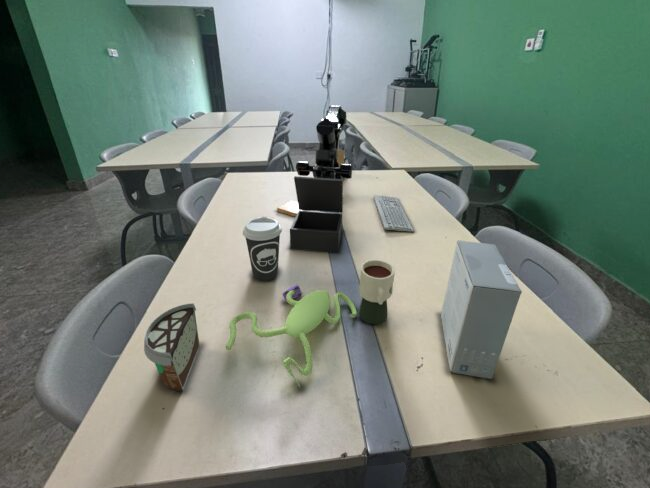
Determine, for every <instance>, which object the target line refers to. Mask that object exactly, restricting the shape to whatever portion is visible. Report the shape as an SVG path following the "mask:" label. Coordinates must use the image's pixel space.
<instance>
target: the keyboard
mask: <svg viewBox="0 0 650 488" xmlns="http://www.w3.org/2000/svg"><path fill="white" fill-rule="evenodd" d="M373 200H374V203H375V206H376V209H377V212H378V215H379V218H380V220H381V221H380V222H381V224H382V226H383V230H387V231H397V232H398V231H399V232H409V233H414V232H415V230H414V227H413V226H412V224H411V222H410V220H409V218H408V216H407V215H406V213H405V210H404V208H403V207H402V205H401V202H400V200H399V199H398V198H397V197H396V196H388V195H376V194H373Z"/></svg>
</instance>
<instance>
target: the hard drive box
mask: <svg viewBox="0 0 650 488" xmlns="http://www.w3.org/2000/svg"><path fill="white" fill-rule="evenodd" d="M522 293H523V291H522V289H521V288H520V286H519V284H518V282H517V280H516V279H515V277H514V275H513V274H512V272H511V270H510V268H509V267H508V265H507V263H506V262H505V260H504V258H503V256H502V254H501V253H500V252H499V249H498V248H497V246H496V244H494V243H493V244H492V243H484V242H477V241H476V242H475V241H466V240H457V241H456V245H455V250H454V255H453V258H452V262H451V268H450V271H449V277H448V281H447V286H446V290H445V294H444V299H443V302H442V303H443V304H442V307H441V314H440V318H441V323H442V324H441V325H442V330H443V337H444V343H445V349H446V356H447V361H448V366H449V371H450V372H452V373H454V374H459V375H466V376H471V377H476V378H481V379H489V380H492V379H493V377H494V374H495V371H496V368H497V365H498V362H499V359H500V356H501V353H502V350H503V347H504V345H505V341H506V338H507V335H508V332H509V329H510V327H511V324H512V321H513V317H514V315H515V312H516V310H517V306H518V303H519V300H520V297H521V295H522Z"/></svg>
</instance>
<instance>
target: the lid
mask: <svg viewBox="0 0 650 488" xmlns="http://www.w3.org/2000/svg"><path fill="white" fill-rule="evenodd" d="M293 180H294V187H295V188H294V189H295V194H296V199H297V200H296V201H297V202H298V207H299V210H307V211H318V212H332V213H343V210H344V191H343V190H344V178H343V179H329V178H314V176H313V177H312V176H311V177H310V176H298V175H297V176H294V177H293ZM343 214H344V213H343Z"/></svg>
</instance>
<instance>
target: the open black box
mask: <svg viewBox="0 0 650 488" xmlns="http://www.w3.org/2000/svg"><path fill="white" fill-rule="evenodd" d="M343 214H344V213H339V212H325V211H311V210H307V211H304V210H299V212H298V214H297V216H296V217H294V220H293V221H292V223H291V226H290V228H289V247H290V250H302V251H315V252H326V253H337V254H338V253H339V249H340V245H341V244H340V243H341V238H342V232H343Z"/></svg>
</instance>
